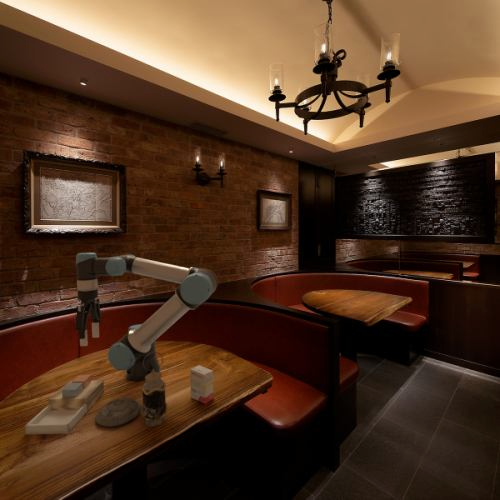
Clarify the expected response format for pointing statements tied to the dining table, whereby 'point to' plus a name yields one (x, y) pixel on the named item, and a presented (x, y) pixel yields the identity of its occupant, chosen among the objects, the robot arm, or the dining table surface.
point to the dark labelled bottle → (153, 398)
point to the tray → (54, 421)
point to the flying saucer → (118, 412)
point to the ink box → (201, 384)
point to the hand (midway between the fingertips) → (90, 341)
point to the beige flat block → (78, 397)
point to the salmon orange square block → (83, 380)
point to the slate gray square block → (72, 390)
